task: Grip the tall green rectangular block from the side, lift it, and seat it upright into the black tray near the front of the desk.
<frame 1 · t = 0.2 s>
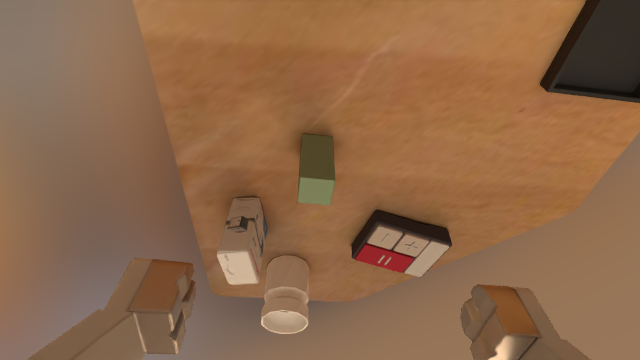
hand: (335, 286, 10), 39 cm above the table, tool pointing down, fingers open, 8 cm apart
tall green rectangular block: (316, 147, 55), on the table
black tray: (620, 37, 44), on the table
calculator: (398, 236, 69), on the table
vase: (288, 266, 75), on the table
ink box: (249, 213, 65), on the table
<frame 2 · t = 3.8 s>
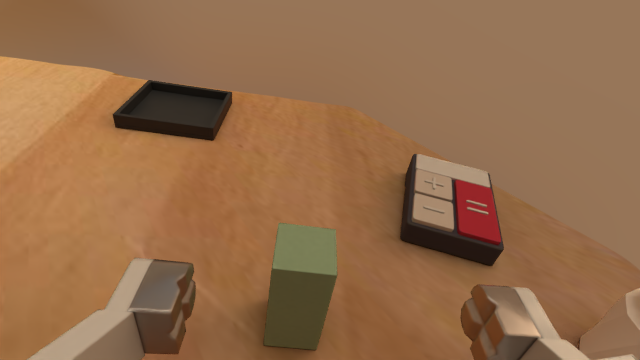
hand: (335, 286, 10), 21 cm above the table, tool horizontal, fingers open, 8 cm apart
tall green rectangular block: (292, 323, 32), on the table
black tray: (179, 113, 59), on the table
calculator: (443, 214, 48), on the table
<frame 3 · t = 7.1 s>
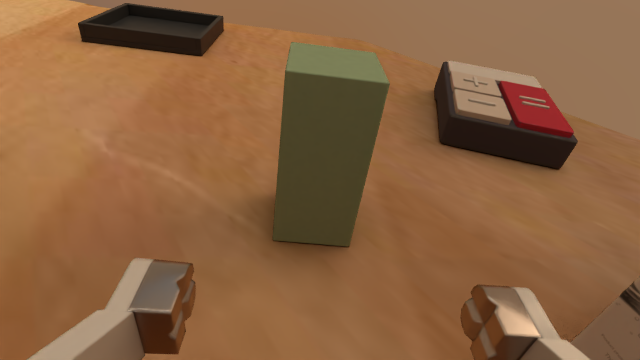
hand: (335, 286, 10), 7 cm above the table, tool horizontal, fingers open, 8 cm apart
tall green rectangular block: (311, 218, 23), on the table
black tray: (161, 35, 50), on the table
calculator: (486, 125, 39), on the table
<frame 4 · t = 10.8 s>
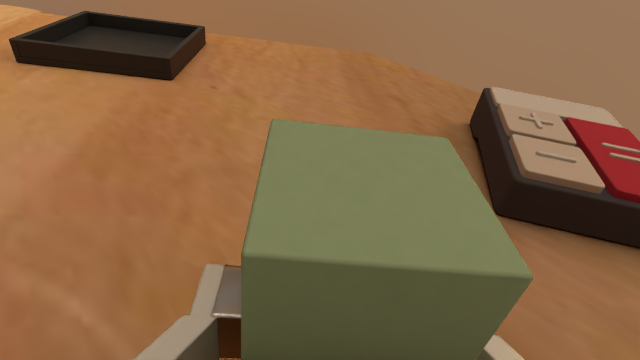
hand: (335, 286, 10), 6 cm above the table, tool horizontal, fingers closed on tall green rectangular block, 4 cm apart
black tray: (125, 51, 40), on the table
calculator: (546, 176, 29), on the table
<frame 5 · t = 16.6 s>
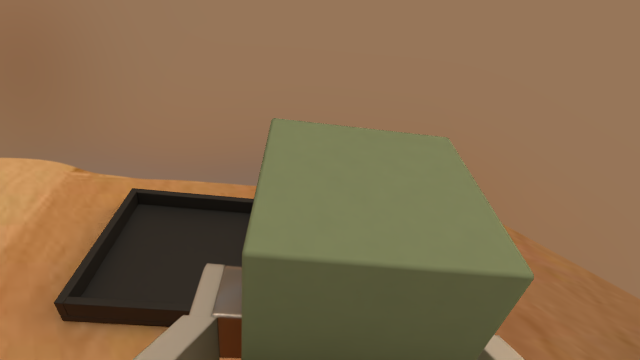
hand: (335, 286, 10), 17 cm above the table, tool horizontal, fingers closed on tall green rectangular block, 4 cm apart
black tray: (188, 258, 32), on the table
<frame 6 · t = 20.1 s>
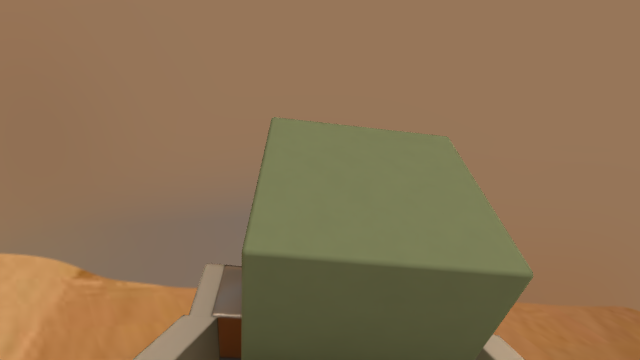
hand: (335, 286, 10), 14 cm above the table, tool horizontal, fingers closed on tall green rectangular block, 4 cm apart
when the fingers open (6 cm above the table, at t = 22.7 s): tall green rectangular block stays where it is, resting on black tray.
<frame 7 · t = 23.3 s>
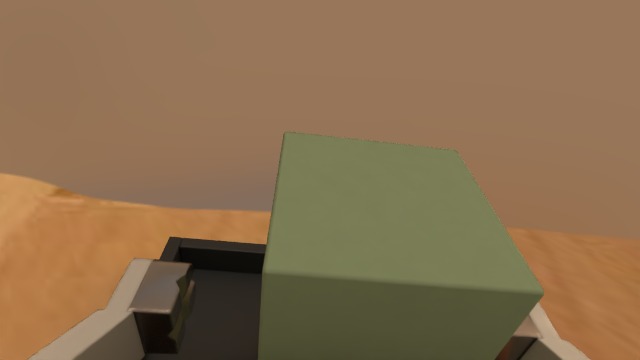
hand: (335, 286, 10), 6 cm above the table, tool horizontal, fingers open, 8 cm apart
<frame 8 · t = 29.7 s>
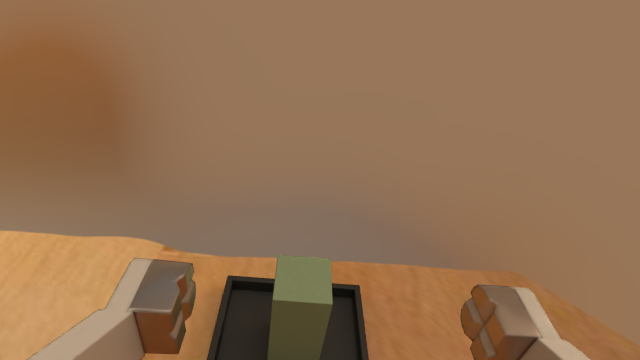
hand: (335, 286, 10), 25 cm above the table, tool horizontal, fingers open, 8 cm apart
tall green rectangular block: (292, 346, 34), point 1 cm above the table, touching black tray
black tray: (289, 349, 35), on the table
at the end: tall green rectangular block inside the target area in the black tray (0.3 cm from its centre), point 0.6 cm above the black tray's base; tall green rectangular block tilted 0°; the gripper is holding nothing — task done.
